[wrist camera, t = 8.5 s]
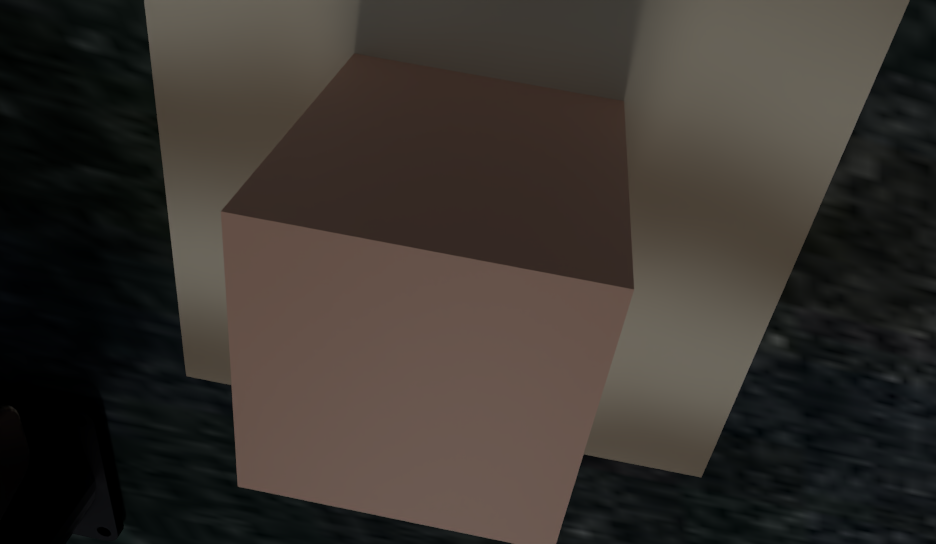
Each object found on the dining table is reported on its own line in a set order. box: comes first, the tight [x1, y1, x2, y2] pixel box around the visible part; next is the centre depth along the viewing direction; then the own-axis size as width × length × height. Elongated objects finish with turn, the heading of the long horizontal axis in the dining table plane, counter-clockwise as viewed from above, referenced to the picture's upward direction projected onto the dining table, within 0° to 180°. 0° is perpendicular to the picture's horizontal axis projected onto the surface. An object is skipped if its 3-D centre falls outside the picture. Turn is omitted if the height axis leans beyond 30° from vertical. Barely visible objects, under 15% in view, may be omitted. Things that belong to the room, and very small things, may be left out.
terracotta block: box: [221, 54, 634, 544], centre depth 13 cm, size 5×5×6 cm
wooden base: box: [144, 0, 909, 477], centre depth 17 cm, size 13×13×2 cm
